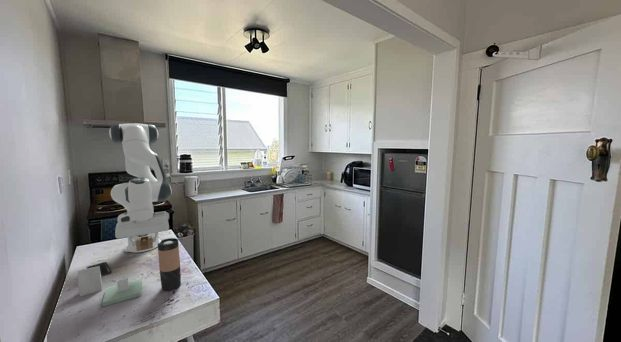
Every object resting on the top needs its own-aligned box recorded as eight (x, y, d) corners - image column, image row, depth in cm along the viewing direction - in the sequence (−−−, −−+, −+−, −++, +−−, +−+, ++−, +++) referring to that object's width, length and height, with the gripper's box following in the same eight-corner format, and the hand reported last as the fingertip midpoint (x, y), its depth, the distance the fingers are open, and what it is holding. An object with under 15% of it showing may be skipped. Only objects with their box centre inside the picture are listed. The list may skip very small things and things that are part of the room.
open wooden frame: (137, 246, 115) (136, 236, 114) (152, 243, 118) (152, 234, 118) (136, 251, 110) (135, 241, 109) (152, 248, 113) (152, 238, 113)
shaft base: (107, 290, 104) (105, 277, 103) (141, 281, 110) (140, 269, 109) (102, 306, 94) (100, 291, 93) (140, 295, 100) (139, 281, 99)
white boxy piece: (101, 290, 104) (99, 267, 103) (79, 296, 100) (77, 273, 99) (102, 286, 107) (99, 264, 106) (81, 292, 103) (78, 269, 102)
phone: (106, 261, 128) (111, 271, 118) (106, 263, 128) (111, 274, 118) (85, 267, 122) (89, 278, 112) (86, 269, 122) (89, 280, 112)
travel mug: (184, 286, 106) (180, 241, 104) (163, 294, 101) (160, 246, 99) (178, 279, 112) (175, 236, 110) (158, 286, 107) (155, 241, 104)
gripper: (168, 209, 120) (170, 236, 122) (114, 215, 109) (117, 245, 111) (169, 212, 115) (171, 240, 117) (112, 219, 104) (116, 251, 106)
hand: (144, 243), depth 114 cm, fingers closed on open wooden frame, 6 cm apart
